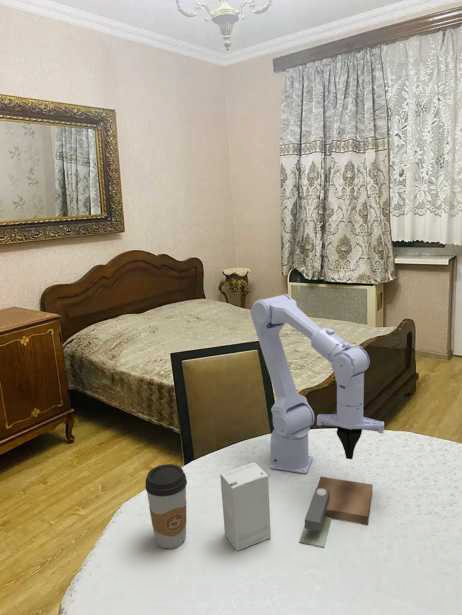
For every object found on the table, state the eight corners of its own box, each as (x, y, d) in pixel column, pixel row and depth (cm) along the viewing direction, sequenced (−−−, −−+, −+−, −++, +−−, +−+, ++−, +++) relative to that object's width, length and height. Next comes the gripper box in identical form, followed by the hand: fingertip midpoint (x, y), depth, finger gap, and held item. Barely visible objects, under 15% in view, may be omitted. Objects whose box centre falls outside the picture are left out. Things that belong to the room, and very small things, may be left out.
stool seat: (299, 542, 99) (299, 534, 98) (318, 483, 118) (318, 476, 118) (363, 555, 94) (363, 546, 94) (372, 492, 114) (372, 484, 113)
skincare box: (257, 522, 105) (255, 460, 102) (272, 539, 100) (270, 474, 97) (222, 535, 102) (218, 471, 98) (235, 553, 96) (232, 486, 93)
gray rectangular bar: (316, 495, 110) (316, 486, 109) (329, 498, 109) (329, 488, 108) (304, 528, 99) (304, 517, 99) (319, 531, 98) (319, 520, 98)
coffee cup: (158, 559, 96) (152, 490, 93) (145, 534, 103) (138, 470, 100) (197, 543, 100) (192, 477, 96) (182, 520, 107) (177, 458, 104)
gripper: (385, 397, 110) (384, 452, 113) (320, 391, 115) (321, 443, 118) (383, 410, 103) (381, 468, 106) (314, 403, 109) (315, 458, 112)
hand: (349, 456), depth 112 cm, fingers closed
